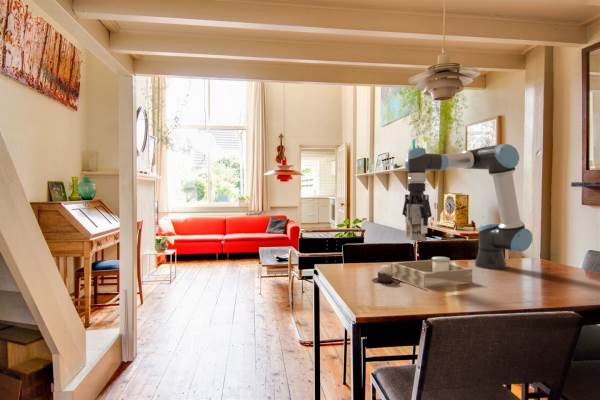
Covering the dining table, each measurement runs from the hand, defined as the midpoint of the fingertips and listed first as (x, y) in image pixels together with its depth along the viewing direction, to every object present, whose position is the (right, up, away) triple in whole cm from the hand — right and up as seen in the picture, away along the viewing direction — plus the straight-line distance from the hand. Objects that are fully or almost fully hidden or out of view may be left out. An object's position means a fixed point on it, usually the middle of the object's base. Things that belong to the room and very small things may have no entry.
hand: (416, 231), depth 166 cm
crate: (+6, -22, 0) cm, 23 cm away
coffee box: (0, -4, 0) cm, 4 cm away
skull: (-14, -23, -1) cm, 27 cm away
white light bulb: (+12, -21, +2) cm, 24 cm away
